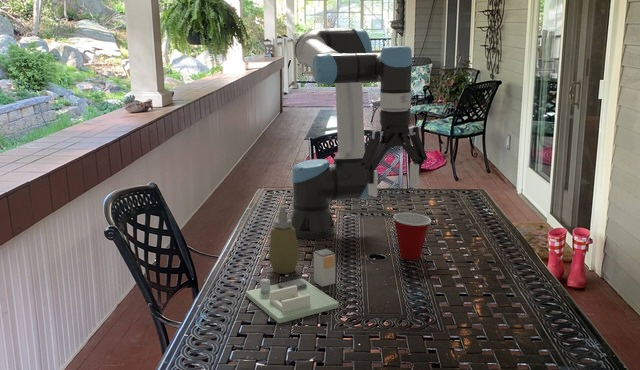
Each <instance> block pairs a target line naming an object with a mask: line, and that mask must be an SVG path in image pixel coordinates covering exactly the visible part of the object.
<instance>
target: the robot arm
mask: <svg viewBox="0 0 640 370" xmlns="http://www.w3.org/2000/svg"><path fill="white" fill-rule="evenodd" d="M372 47H373V45H372V43H371V38H370V36H369V34H368V32H367V30H365V29H363V28H360V27H359V28H358V27H334V28H332V27H331V28H330V27H329V28H328V27H326V28H324V27H323V28H322V27H321V28H320V27H319V28H313V29H310V30H307V31H306V32H303V34H301V35H300V36H299V37H298V38H297V40H296V42H295V45H294V56H295V58H296V59H297V60H298V62H299V63H300V64H301V65H303V66H305V67H309V68H312V76H313V80H314V81H315V83H317V84H325V85H331V84H334V86H335V107H336V109H335V110H336V129H337V130H336V131H337V154H335V156H334V157H333V163H330V162H329V160H328V159H325V158H320V159H319V158H314V159H308V160H304V161H301V162H299V163H297V164H295V165H294V166H293V168H292V175H291V182H292V213H291V214H290V215H291V216H290V218H289V219H291V220H292V227H294V228H295V231H296V239H299V240H301V239H302V240H320V239H321V240H322V239H326V238H329V237H331V236H333V235H334V234H335V232H336V229H335V228H336V226H335V222H334V220H333V216H332V214H331V210H330V201H338V200H339V201H341V200H352V199H353V200H354V199H355V200H359V199H364V198H365V199H367V198H369V197H374V198H377V197H378V181H379V179H378V176H379V175H378V174H379V172H378V171H379V170H377V168H378V166H379V164H380V162H381V161H382V160H383V158H384V156H385V154H386V153H387V151H388V150H390V149H391V148H395V147H402V148H403V150H404V151H405V153H406V154H407V155H408V156H409V159H410V160H411V162H410V163H409V184H408V185H409V186H408V187H409V188H411V189H414V190H418V189H419V180H420V179H419V178H420V177H419V176H420V175H421V170H422V169H421V167H422V166H421V165H424V163H425V161H427V160H428V156H427V153H426V149H425V147H424V145H423V142H422V140H421V137H420V129H419V127H418V126H415V125H411V111H410V108H411V103H412V102H411V101H412V98H411V97H412V73H413V72H412V69H413V67H412V65H413V56H412V52H413V51H412V48H411V47H410V46H408V45H385V46H383V47H381V49H380V50H381V51H376V52H373V48H372ZM363 83H380V100H379V101H380V102H379V103H380V104H379V107H380V108H381V110H380V112H379V124H380V126H381V128H380V131H378V130H374V129H371V130H370V134H369V135H370V136H369V140H368V143H367V146H366V145H365V122H364V121H365V120H364V119H365V118H364V98H363V96H364V94H363V93H364V92H363ZM408 136H409V137H408ZM410 140H411V141H410ZM365 147H366V148H365Z"/></svg>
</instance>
